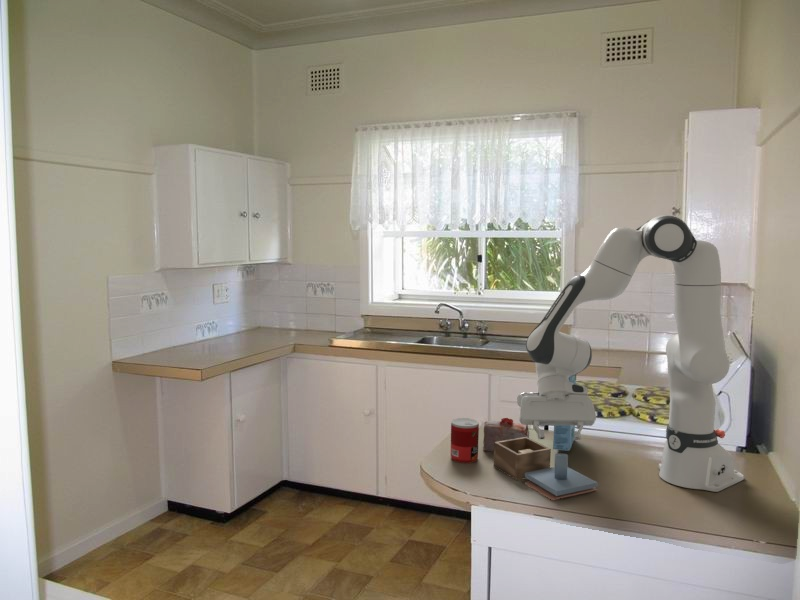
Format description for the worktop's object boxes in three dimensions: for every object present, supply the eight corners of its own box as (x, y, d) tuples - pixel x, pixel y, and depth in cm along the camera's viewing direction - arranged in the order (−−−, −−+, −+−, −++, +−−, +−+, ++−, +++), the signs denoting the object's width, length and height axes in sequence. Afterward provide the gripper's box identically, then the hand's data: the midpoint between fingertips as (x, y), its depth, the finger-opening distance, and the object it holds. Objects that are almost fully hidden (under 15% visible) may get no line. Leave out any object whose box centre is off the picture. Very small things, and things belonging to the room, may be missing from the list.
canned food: (476, 464, 185) (477, 427, 184) (448, 462, 187) (449, 425, 185) (479, 455, 192) (479, 418, 191) (452, 452, 194) (452, 417, 193)
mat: (567, 475, 178) (567, 473, 177) (595, 490, 168) (595, 488, 168) (525, 484, 172) (525, 482, 171) (551, 500, 162) (551, 498, 162)
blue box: (569, 451, 188) (573, 372, 188) (551, 449, 190) (555, 370, 190) (574, 439, 206) (577, 367, 206) (558, 437, 208) (561, 366, 208)
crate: (525, 460, 189) (526, 436, 188) (549, 473, 179) (550, 449, 178) (493, 466, 184) (494, 442, 183) (516, 480, 174) (517, 455, 173)
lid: (563, 472, 178) (564, 443, 177) (597, 490, 166) (598, 459, 165) (524, 480, 172) (525, 450, 171) (556, 499, 161) (557, 467, 160)
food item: (528, 447, 199) (530, 416, 198) (528, 457, 191) (529, 424, 190) (484, 444, 202) (484, 413, 201) (481, 453, 194) (482, 421, 193)
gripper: (517, 386, 180) (521, 432, 171) (593, 387, 178) (600, 433, 170) (515, 398, 185) (518, 443, 176) (589, 399, 183) (596, 444, 175)
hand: (559, 438), depth 173 cm, fingers open, 8 cm apart
